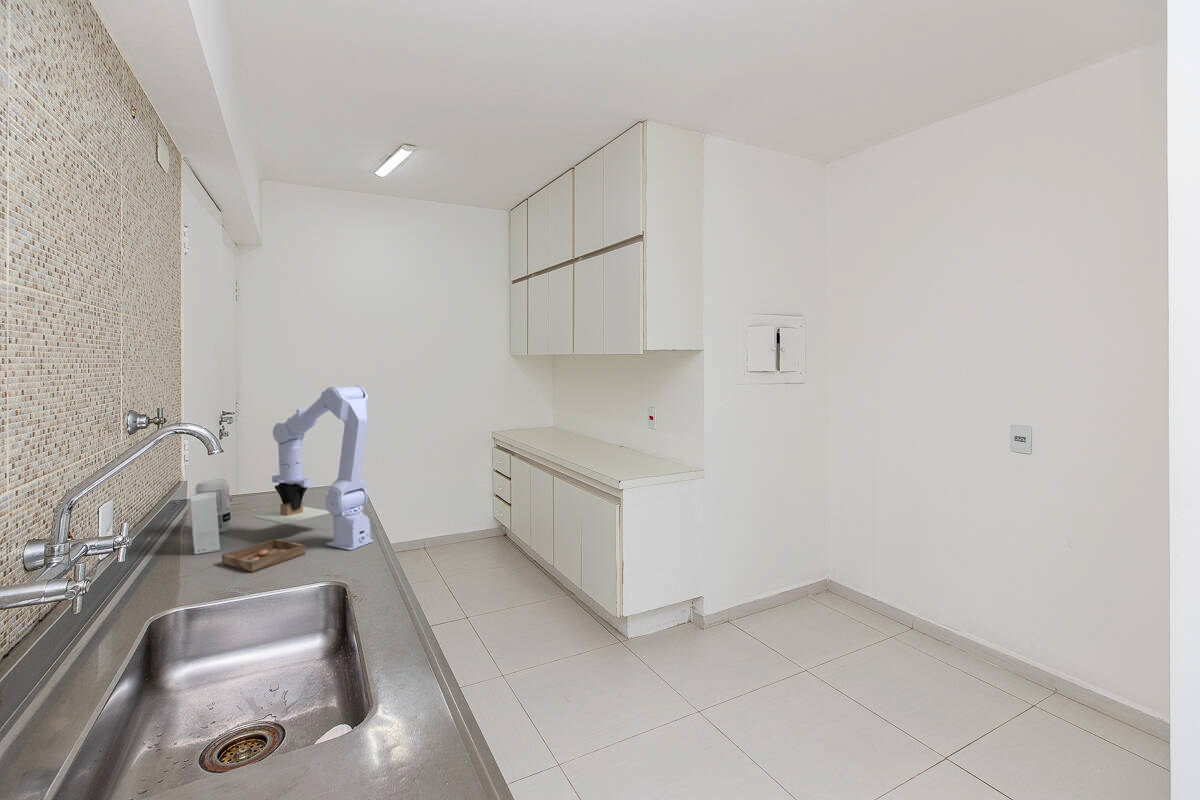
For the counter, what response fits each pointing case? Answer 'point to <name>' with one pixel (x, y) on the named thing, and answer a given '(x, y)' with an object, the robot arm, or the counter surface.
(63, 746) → the counter surface
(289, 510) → the lid
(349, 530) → the robot arm
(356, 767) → the counter surface
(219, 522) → the supplement can
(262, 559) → the box
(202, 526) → the skincare box
